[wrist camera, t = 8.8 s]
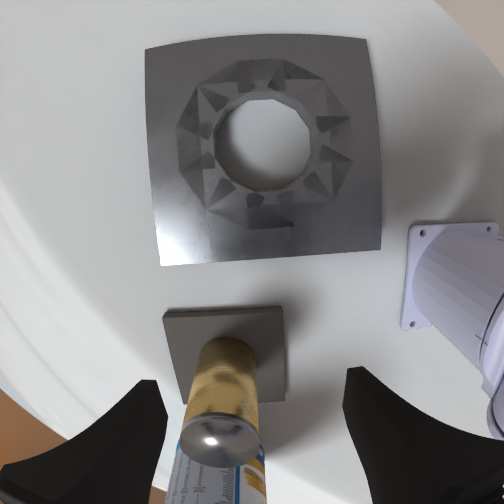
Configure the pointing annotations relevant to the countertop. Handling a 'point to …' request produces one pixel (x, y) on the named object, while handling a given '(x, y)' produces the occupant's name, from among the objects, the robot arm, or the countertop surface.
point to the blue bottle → (216, 482)
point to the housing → (238, 195)
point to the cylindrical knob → (222, 406)
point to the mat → (237, 326)
